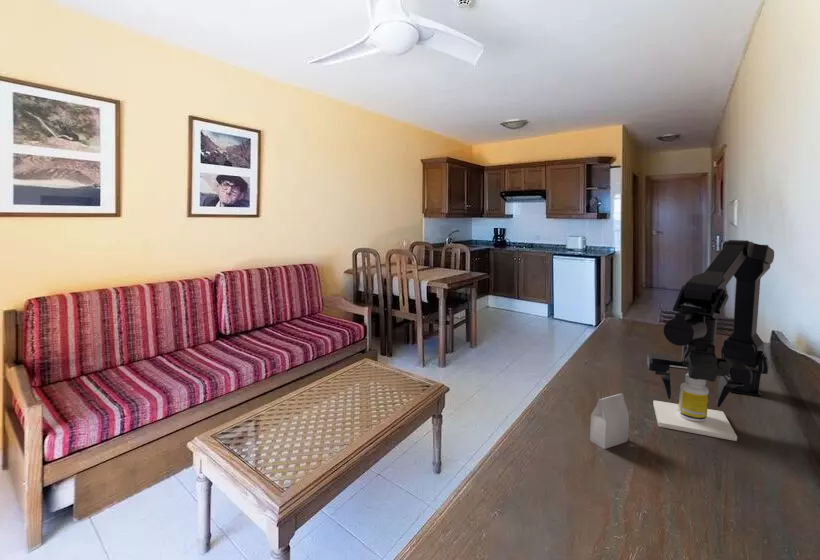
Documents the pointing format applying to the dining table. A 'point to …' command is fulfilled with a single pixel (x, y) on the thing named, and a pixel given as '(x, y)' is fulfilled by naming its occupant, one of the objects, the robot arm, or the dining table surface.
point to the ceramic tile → (711, 426)
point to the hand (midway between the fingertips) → (692, 402)
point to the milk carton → (609, 422)
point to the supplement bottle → (693, 399)
